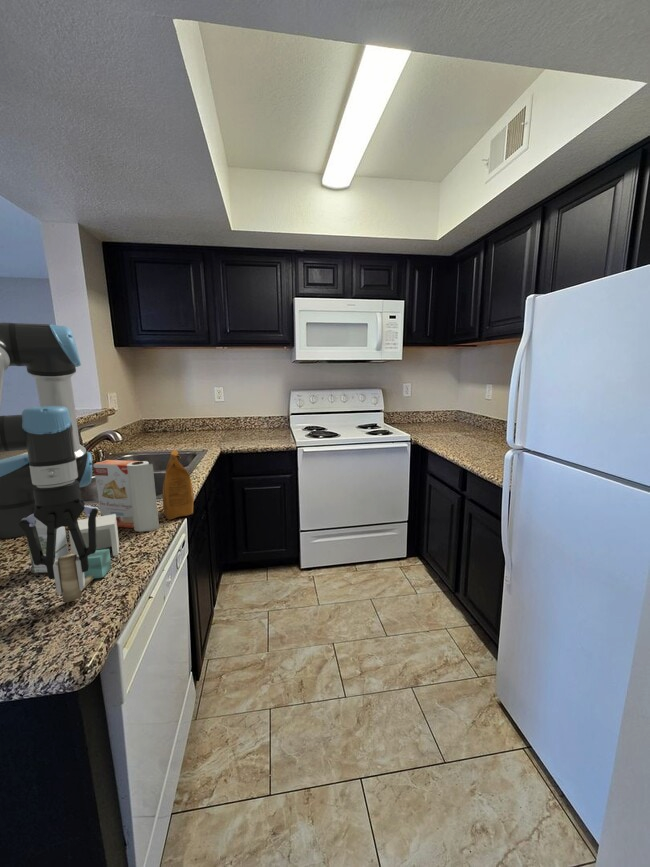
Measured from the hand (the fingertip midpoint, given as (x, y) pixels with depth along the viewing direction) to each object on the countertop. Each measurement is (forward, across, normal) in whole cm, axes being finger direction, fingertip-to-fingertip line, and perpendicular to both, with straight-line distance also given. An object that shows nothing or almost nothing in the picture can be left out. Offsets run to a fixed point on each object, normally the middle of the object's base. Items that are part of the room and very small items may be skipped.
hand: (71, 588), depth 77 cm
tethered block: (+2, +2, +5) cm, 6 cm away
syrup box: (+3, -7, +20) cm, 21 cm away
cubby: (+3, +3, +22) cm, 23 cm away
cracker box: (+3, +9, +41) cm, 42 cm away
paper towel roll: (+3, +15, +34) cm, 37 cm away
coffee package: (+3, +26, +42) cm, 50 cm away
